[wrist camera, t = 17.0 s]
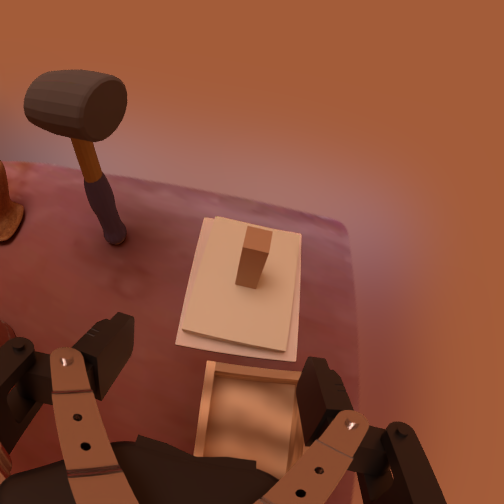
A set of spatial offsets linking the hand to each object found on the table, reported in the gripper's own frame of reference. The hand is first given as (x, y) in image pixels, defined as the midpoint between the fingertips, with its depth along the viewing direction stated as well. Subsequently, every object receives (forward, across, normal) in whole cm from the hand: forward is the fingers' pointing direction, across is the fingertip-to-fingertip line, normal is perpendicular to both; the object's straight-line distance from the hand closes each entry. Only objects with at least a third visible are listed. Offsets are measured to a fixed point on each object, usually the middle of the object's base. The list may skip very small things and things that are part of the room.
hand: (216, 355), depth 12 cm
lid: (+30, -2, +7) cm, 30 cm away
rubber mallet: (+33, +21, +6) cm, 39 cm away
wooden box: (+15, -6, +23) cm, 28 cm away
